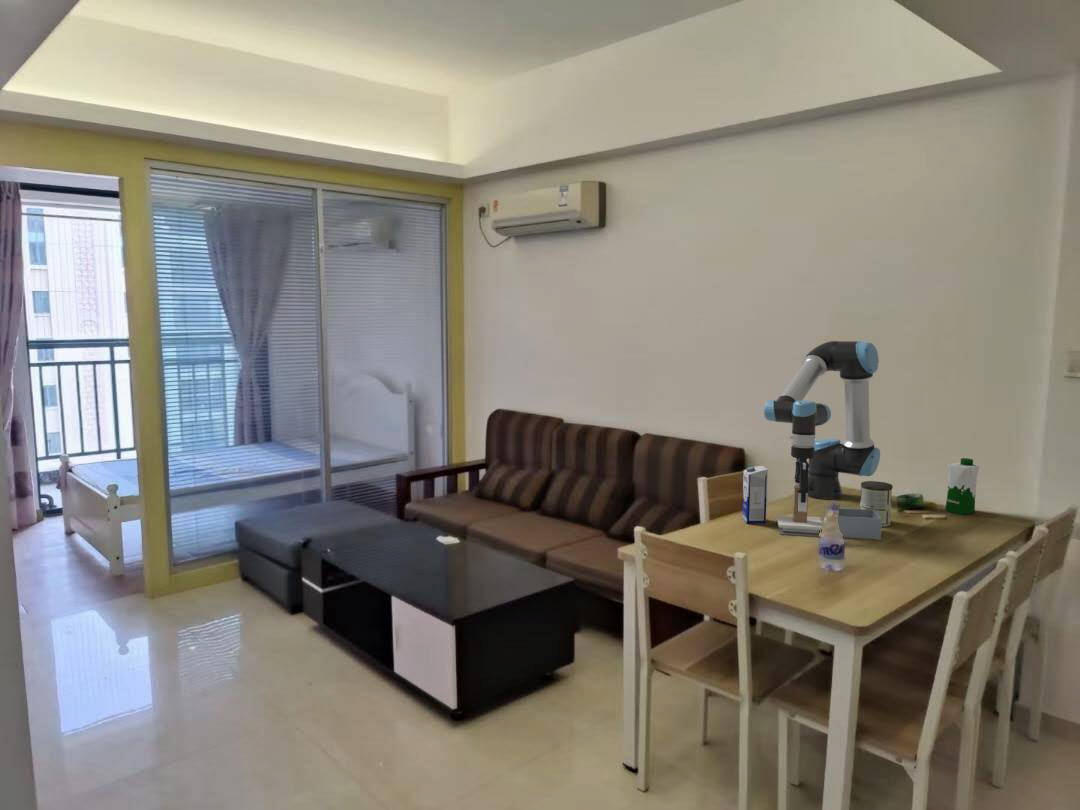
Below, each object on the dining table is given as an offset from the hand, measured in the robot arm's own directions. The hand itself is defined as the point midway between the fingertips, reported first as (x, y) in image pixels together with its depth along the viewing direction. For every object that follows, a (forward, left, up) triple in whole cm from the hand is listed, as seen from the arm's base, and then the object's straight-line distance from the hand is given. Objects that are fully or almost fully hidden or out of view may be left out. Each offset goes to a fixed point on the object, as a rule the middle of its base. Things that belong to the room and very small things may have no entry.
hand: (800, 506), depth 253 cm
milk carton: (-7, -15, -8) cm, 19 cm away
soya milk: (-38, +61, -8) cm, 72 cm away
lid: (0, 0, -8) cm, 8 cm away
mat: (0, 0, -8) cm, 8 cm away
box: (0, +18, -8) cm, 20 cm away
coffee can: (-15, +27, -8) cm, 32 cm away
